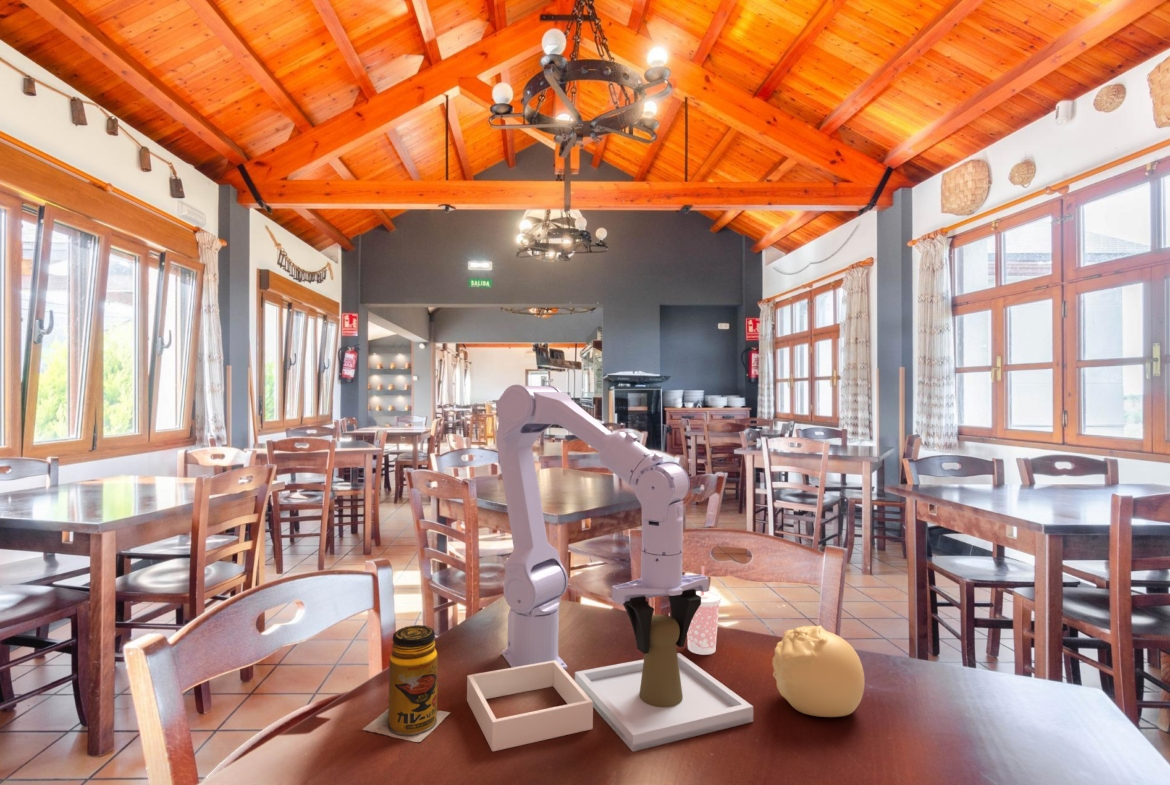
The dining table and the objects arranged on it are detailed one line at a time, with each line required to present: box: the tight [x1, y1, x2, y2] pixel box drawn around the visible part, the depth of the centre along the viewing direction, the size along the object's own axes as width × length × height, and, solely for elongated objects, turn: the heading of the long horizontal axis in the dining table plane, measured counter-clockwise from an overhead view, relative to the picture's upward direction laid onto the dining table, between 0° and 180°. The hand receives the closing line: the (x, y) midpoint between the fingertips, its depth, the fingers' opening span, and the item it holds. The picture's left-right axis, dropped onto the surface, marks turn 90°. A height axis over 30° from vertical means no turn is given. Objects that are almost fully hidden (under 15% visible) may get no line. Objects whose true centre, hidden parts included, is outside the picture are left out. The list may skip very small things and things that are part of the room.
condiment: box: [362, 624, 451, 743], centre depth 81 cm, size 7×8×12 cm
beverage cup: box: [686, 565, 722, 656], centre depth 105 cm, size 6×6×14 cm
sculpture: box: [772, 625, 865, 718], centre depth 87 cm, size 12×12×11 cm
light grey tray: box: [574, 652, 754, 752], centre depth 87 cm, size 18×18×2 cm
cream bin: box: [466, 660, 594, 753], centre depth 83 cm, size 13×13×4 cm
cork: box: [639, 614, 683, 707], centre depth 87 cm, size 6×6×11 cm
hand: (660, 647), depth 87 cm, fingers open, 5 cm apart
